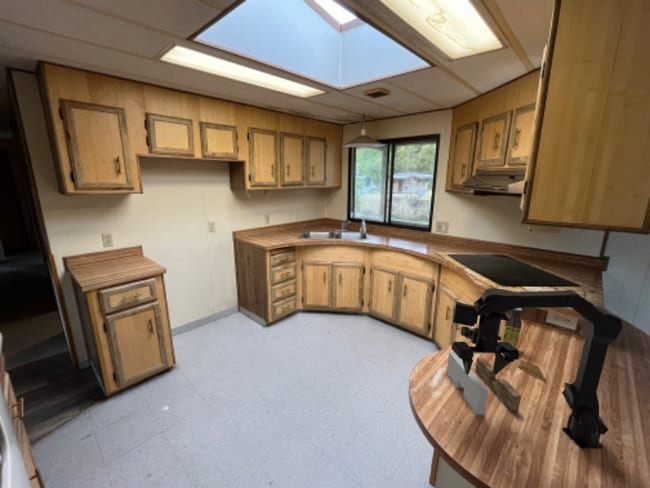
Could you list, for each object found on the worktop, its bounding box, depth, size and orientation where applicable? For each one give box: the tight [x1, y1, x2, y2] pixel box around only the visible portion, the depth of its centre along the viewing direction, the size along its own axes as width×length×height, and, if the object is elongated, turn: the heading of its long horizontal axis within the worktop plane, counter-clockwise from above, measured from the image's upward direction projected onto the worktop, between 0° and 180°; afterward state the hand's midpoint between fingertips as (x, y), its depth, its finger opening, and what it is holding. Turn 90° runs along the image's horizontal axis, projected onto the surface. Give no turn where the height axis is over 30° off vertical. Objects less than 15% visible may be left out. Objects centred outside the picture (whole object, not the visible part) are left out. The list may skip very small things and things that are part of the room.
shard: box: [517, 359, 547, 383], centre depth 111 cm, size 11×8×2 cm
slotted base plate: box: [474, 357, 522, 413], centre depth 100 cm, size 20×2×6 cm, turn 3°
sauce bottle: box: [499, 308, 523, 349], centre depth 124 cm, size 7×6×20 cm
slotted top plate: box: [445, 351, 489, 416], centre depth 98 cm, size 20×2×9 cm, turn 3°
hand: (480, 373), depth 90 cm, fingers open, 9 cm apart
